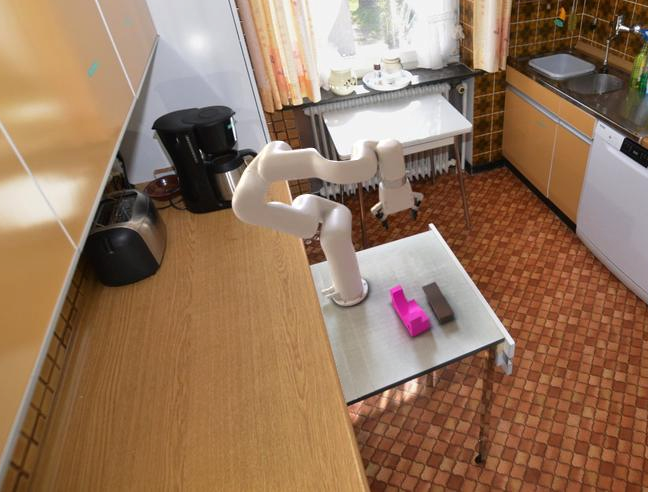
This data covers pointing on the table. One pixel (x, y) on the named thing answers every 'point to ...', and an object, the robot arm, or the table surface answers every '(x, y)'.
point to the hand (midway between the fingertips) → (400, 222)
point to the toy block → (409, 312)
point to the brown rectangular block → (438, 302)
